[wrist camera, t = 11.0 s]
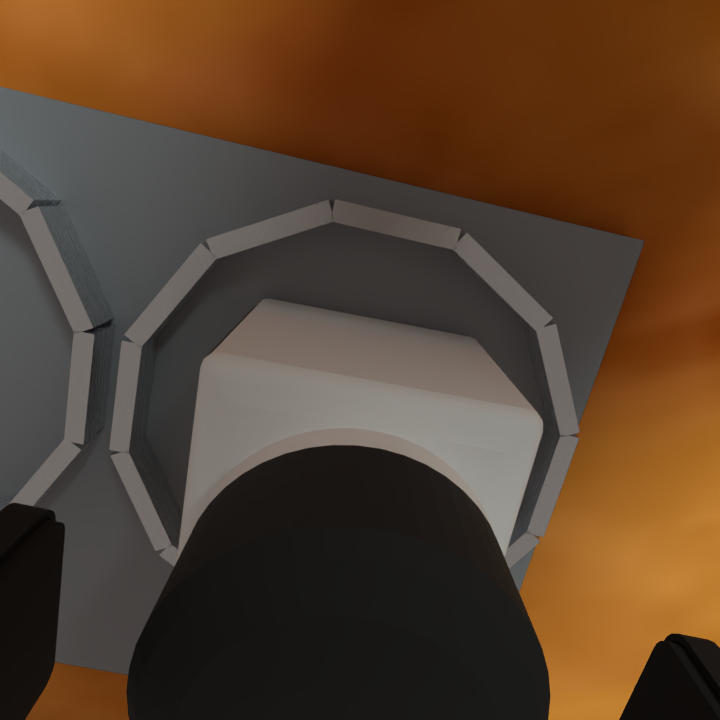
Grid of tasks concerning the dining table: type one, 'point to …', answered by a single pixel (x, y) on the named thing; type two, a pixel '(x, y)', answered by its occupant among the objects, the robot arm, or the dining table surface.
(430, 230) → the steel rings
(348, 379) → the medicine bottle
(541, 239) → the socket board
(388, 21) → the dining table surface
